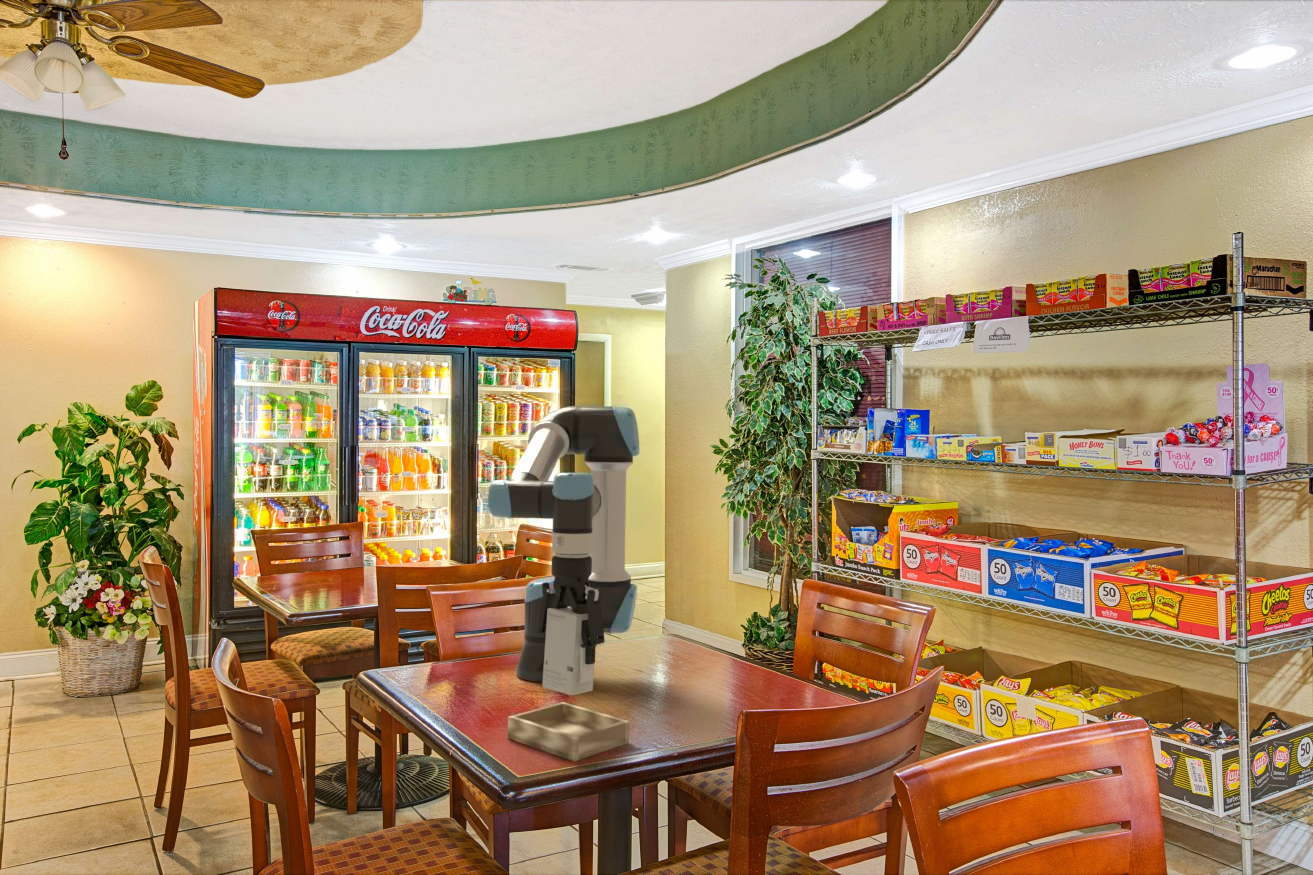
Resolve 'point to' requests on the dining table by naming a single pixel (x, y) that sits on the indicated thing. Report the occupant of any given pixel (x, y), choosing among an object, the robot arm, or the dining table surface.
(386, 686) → the dining table surface
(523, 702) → the dining table surface
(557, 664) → the skincare box
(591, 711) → the tray
